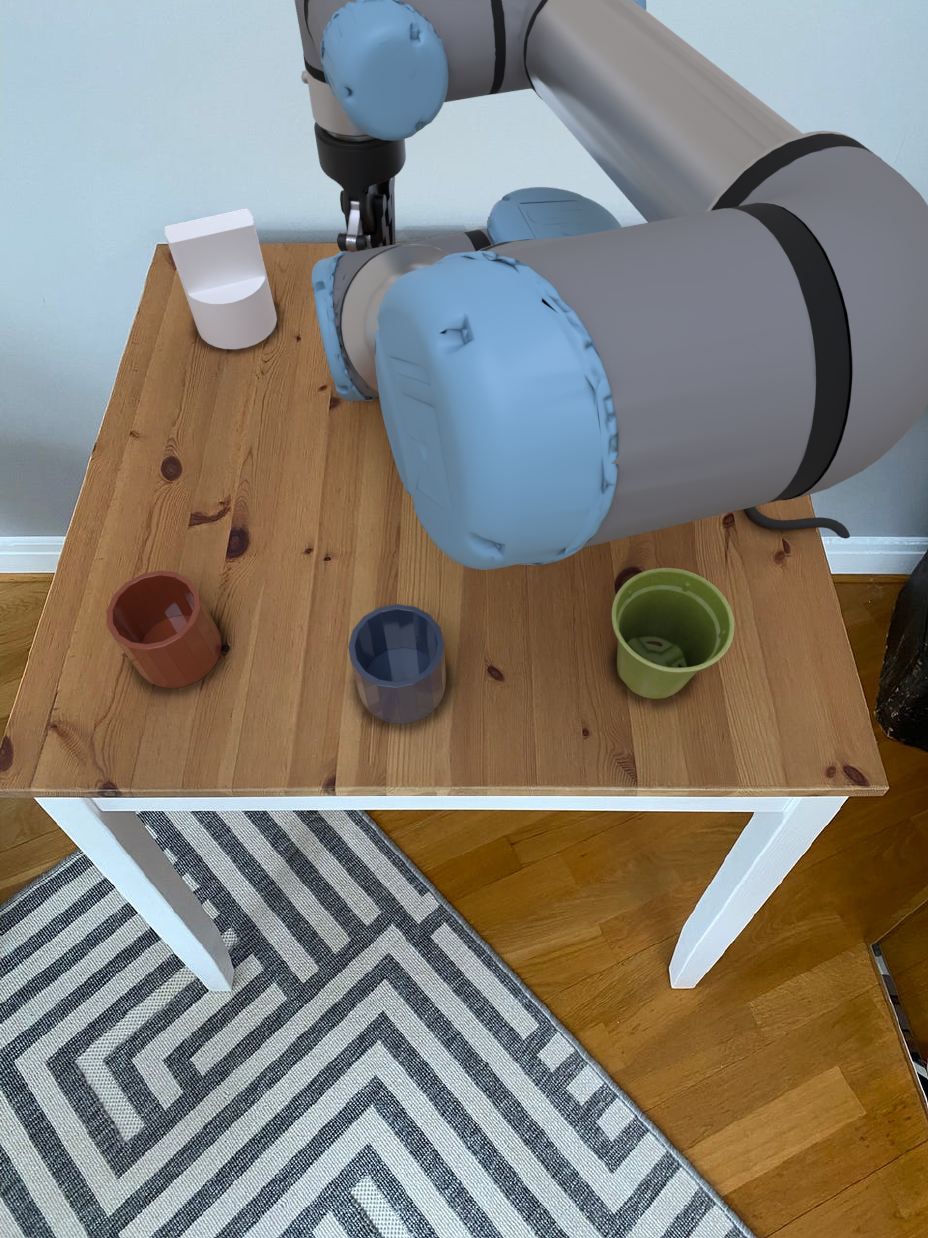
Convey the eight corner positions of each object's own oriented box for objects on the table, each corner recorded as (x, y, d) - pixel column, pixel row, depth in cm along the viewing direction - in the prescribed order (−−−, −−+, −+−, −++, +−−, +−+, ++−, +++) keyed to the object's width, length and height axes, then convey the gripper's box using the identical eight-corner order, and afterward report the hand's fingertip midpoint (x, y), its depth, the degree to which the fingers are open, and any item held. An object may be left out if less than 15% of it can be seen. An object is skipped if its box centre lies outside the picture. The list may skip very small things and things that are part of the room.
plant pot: (705, 727, 69) (734, 680, 61) (592, 709, 70) (607, 660, 62) (708, 630, 74) (735, 576, 66) (602, 615, 74) (617, 559, 67)
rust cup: (232, 620, 74) (212, 577, 68) (205, 694, 71) (181, 655, 65) (154, 609, 75) (126, 565, 69) (123, 681, 71) (91, 641, 65)
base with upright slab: (266, 288, 98) (242, 191, 87) (285, 337, 93) (262, 241, 83) (190, 306, 96) (157, 209, 86) (206, 357, 92) (173, 261, 81)
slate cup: (452, 653, 73) (450, 611, 67) (436, 730, 69) (433, 693, 63) (369, 640, 73) (361, 598, 67) (349, 716, 69) (338, 679, 63)
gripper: (334, 73, 73) (363, 300, 93) (292, 157, 66) (334, 381, 86) (418, 81, 72) (429, 308, 92) (384, 166, 65) (404, 390, 86)
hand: (383, 343), depth 89 cm, fingers closed
